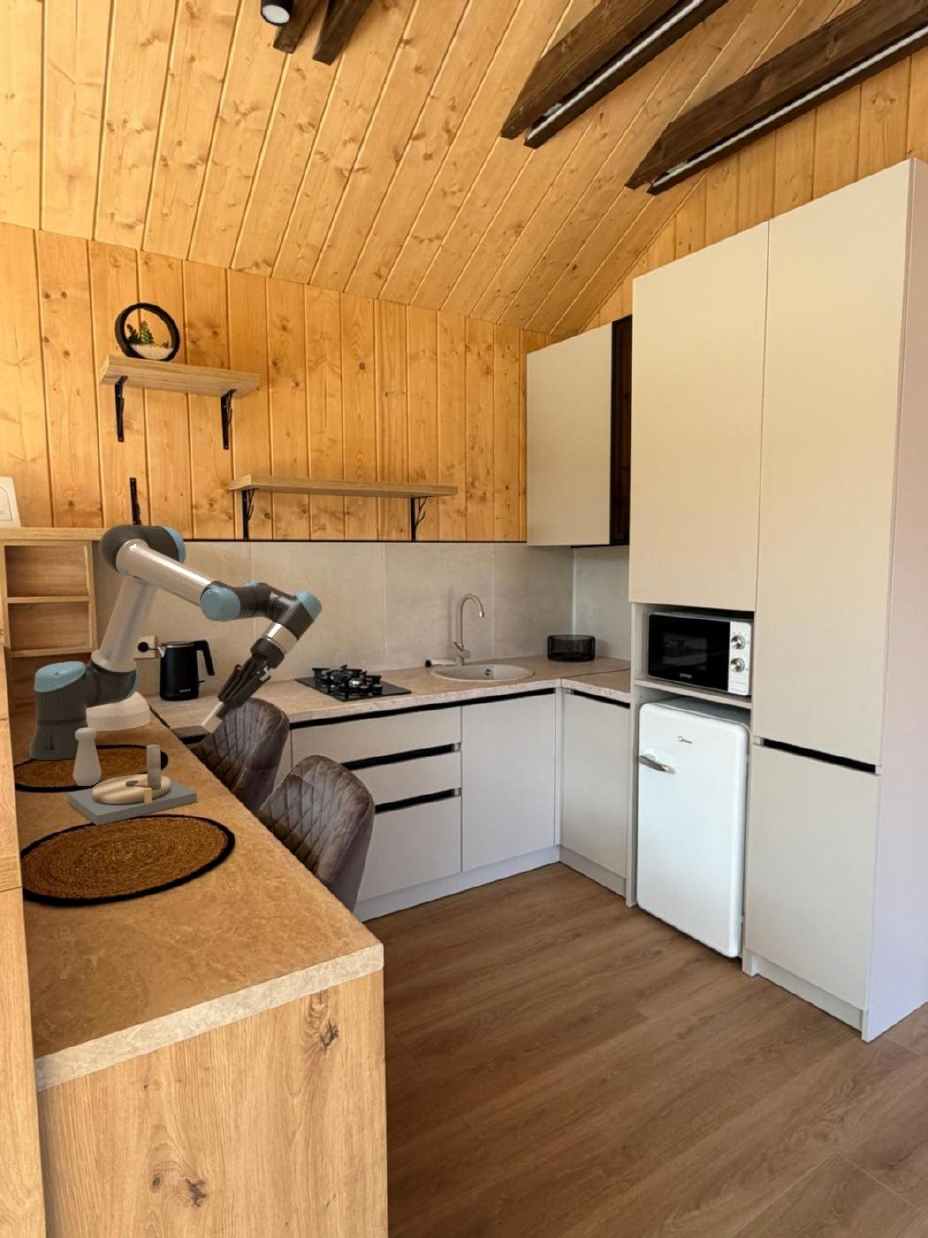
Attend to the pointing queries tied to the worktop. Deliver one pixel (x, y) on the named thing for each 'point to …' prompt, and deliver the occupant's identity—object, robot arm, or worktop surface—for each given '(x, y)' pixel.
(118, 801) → the dial
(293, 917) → the worktop surface
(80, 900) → the worktop surface
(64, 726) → the robot arm
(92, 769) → the salt shaker
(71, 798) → the stand base
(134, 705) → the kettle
